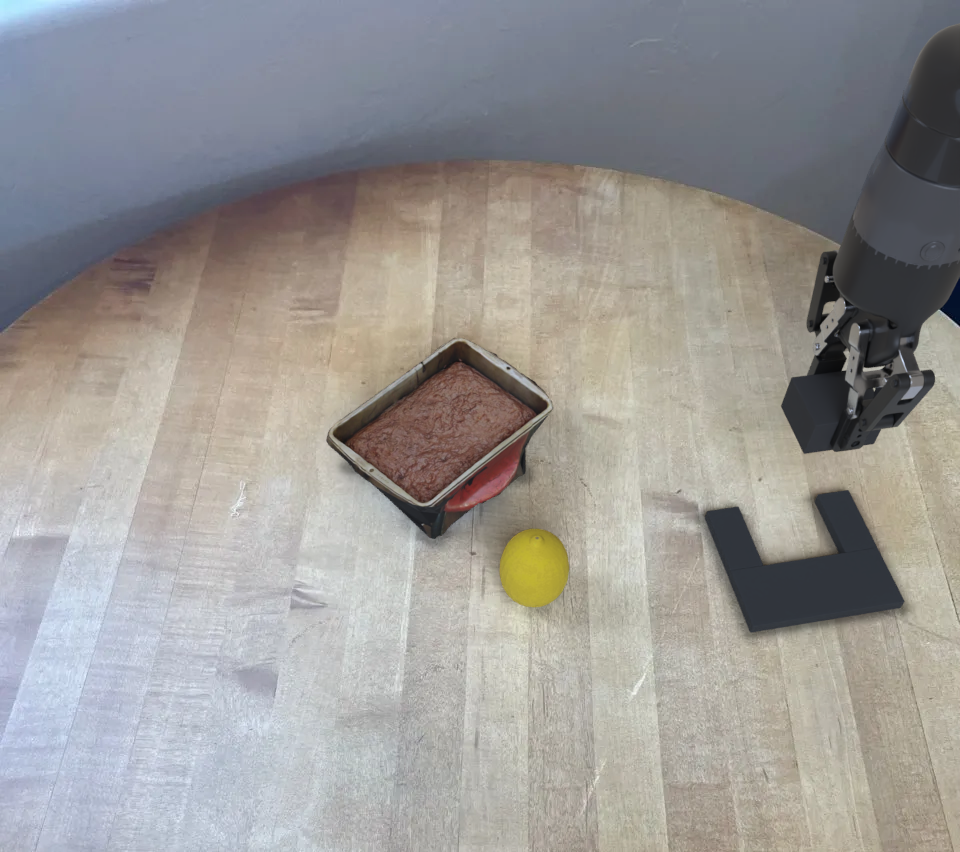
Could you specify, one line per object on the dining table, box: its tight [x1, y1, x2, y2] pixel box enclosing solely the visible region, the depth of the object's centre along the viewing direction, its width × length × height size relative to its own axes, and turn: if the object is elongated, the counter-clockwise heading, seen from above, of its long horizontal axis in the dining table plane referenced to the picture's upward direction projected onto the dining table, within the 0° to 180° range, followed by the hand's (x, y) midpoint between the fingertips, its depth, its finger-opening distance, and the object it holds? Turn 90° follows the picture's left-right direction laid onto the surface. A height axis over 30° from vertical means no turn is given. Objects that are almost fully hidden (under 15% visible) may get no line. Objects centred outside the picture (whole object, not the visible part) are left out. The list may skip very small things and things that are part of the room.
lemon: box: [499, 528, 570, 608], centre depth 79 cm, size 6×6×8 cm
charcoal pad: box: [704, 489, 905, 634], centre depth 84 cm, size 13×12×2 cm
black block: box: [780, 369, 882, 455], centre depth 74 cm, size 6×5×3 cm
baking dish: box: [325, 337, 554, 540], centre depth 86 cm, size 14×18×10 cm
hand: (829, 419), depth 75 cm, fingers closed on black block, 5 cm apart
